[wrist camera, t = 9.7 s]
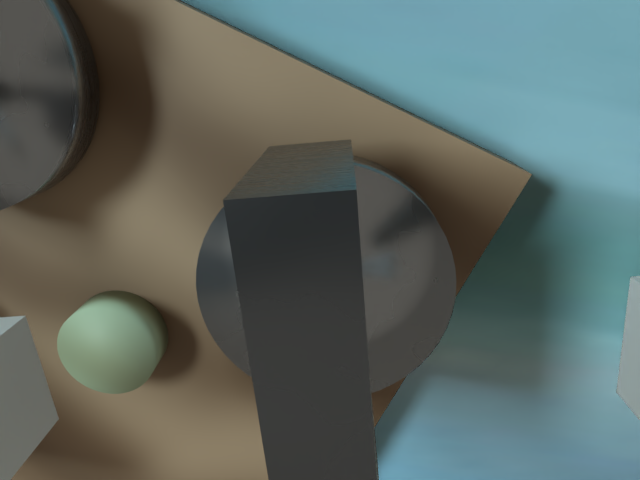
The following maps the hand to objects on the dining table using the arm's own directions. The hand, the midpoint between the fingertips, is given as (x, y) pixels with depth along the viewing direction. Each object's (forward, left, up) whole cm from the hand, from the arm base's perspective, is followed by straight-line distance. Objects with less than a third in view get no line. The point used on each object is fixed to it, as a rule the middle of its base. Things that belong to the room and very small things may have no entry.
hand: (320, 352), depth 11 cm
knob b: (0, 0, -5) cm, 5 cm away
